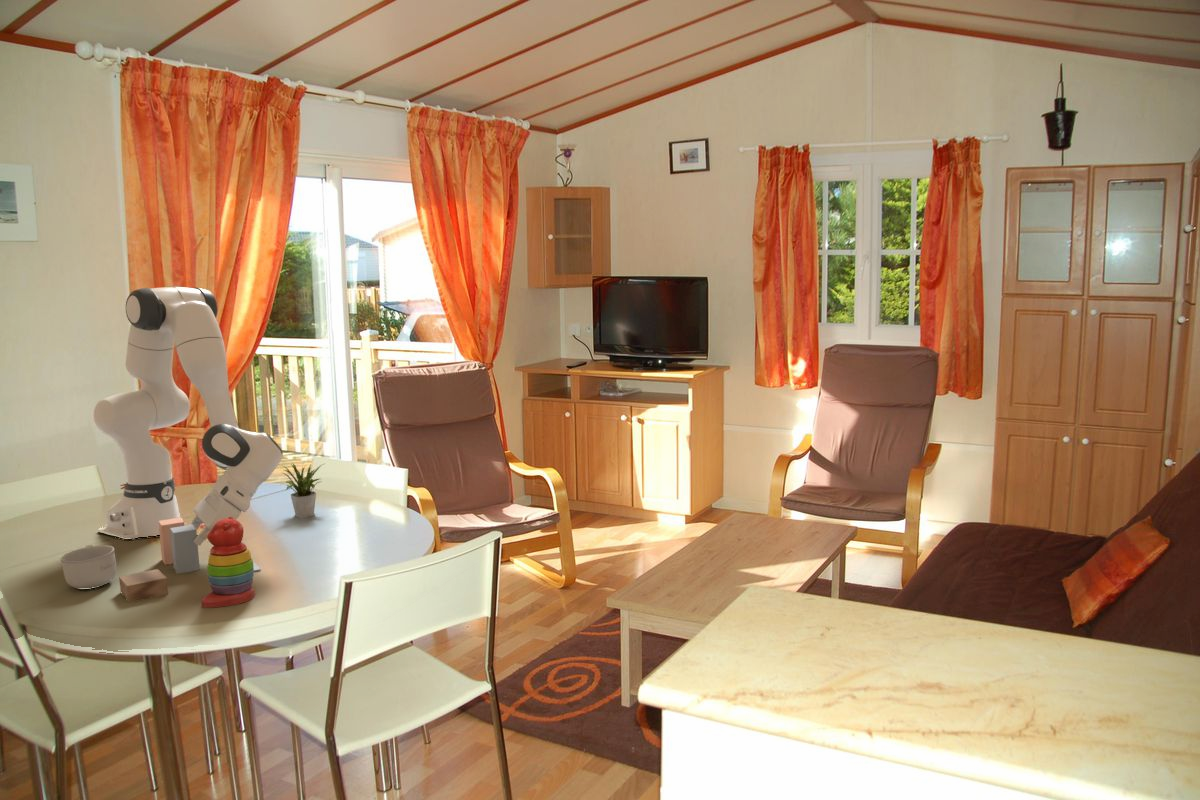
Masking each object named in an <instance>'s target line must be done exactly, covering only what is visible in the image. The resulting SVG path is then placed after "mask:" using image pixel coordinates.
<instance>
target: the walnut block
mask: <svg viewBox="0 0 1200 800" xmlns="http://www.w3.org/2000/svg"><path fill="white" fill-rule="evenodd" d="M118 578H119V579H118V580H119V588H120V593H121V592H122V594H123V595H124V596H125V597H124V596H123V595H122V594H121V595H122V596H123V597H124V599H125V598H126V599H127V600H126V599H125V600H126V601H127V602H128V603H133V602H132V601H134V602H138V601H137V600H139V601H143V600H148V599H152V598H157V597H161V595H162V596H166V595H169V588H168V579H167V577H166V576H165V574H164V573H162V571H160V570H159V569H158V568H156V569H151V570H146V571H143V572H136V573H132V574H126V575H122V576H119V577H118ZM156 596H157V597H156ZM151 597H152V598H151ZM147 598H148V599H147ZM142 599H143V600H142Z"/></svg>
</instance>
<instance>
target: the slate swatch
mask: <svg viewBox="0 0 1200 800" xmlns="http://www.w3.org/2000/svg"><path fill="white" fill-rule="evenodd" d="M253 565H254V567H253V568H254V573H257V572H261V568H260V567H259V566H258V564H256V563H255V562H253Z"/></svg>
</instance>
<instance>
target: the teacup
mask: <svg viewBox="0 0 1200 800" xmlns="http://www.w3.org/2000/svg"><path fill="white" fill-rule="evenodd" d="M60 561H61V564H62V565H61V566H62V572H63V575H64V579H65V582H66V583H67V584H68V586H70V587H71V588H75V589H76V588H92V587H97V586H101V585H104V584H106V585H108V584H107V583H108V582H109V583H110V582H111V580H112V579H113V578H114V577H115V575H116V574H117V562H116V561H117V560H116V555H115V547H114V546H112V545H106V544H105V545H104V544H103V545H102V544H101V545H92V544H89V545H86V546H85V547H82V548H77V549H75V550H71V551H69V552H67V553H65V554H63V555H62V556H61V557H60ZM104 586H105V585H104Z"/></svg>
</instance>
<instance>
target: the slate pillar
mask: <svg viewBox="0 0 1200 800" xmlns="http://www.w3.org/2000/svg"><path fill="white" fill-rule="evenodd" d="M170 533H171V544H172V555H173V564H172V565H173V570H174V569H175V570H174V571H175V573H176V575H178V573H180V574H184V573H189V572H195V571H200V570H201V569H200V568H201V567H200V558H199V555H200V554H199V545H197V544H195V543H194V542H193V539H194V538H195V537H196V536H197V535H198V533H197V530H196V528H195V527H194V526H193V525H190V524H189V525H188V524H187V525H184V526H180V527H174V528H170Z"/></svg>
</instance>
